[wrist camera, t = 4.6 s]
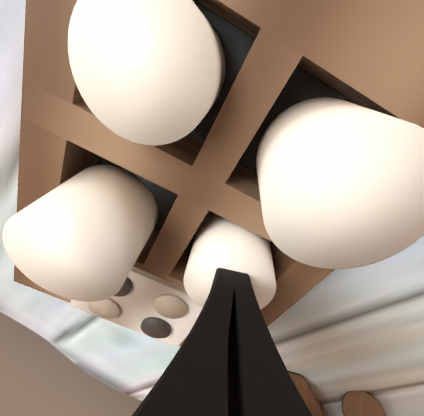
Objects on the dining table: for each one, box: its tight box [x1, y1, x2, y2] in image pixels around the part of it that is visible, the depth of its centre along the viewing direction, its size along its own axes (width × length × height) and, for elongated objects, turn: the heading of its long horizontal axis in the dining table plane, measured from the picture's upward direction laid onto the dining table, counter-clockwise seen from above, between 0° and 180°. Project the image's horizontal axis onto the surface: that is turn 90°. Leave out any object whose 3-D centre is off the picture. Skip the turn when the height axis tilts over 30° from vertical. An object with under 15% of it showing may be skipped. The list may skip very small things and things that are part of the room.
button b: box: [2, 165, 158, 302], centre depth 9 cm, size 4×4×4 cm
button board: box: [14, 0, 424, 347], centre depth 11 cm, size 14×20×4 cm
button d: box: [183, 211, 276, 309], centre depth 12 cm, size 4×4×4 cm
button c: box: [256, 97, 424, 269], centre depth 7 cm, size 4×4×4 cm
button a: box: [68, 0, 225, 146], centre depth 8 cm, size 4×4×4 cm
